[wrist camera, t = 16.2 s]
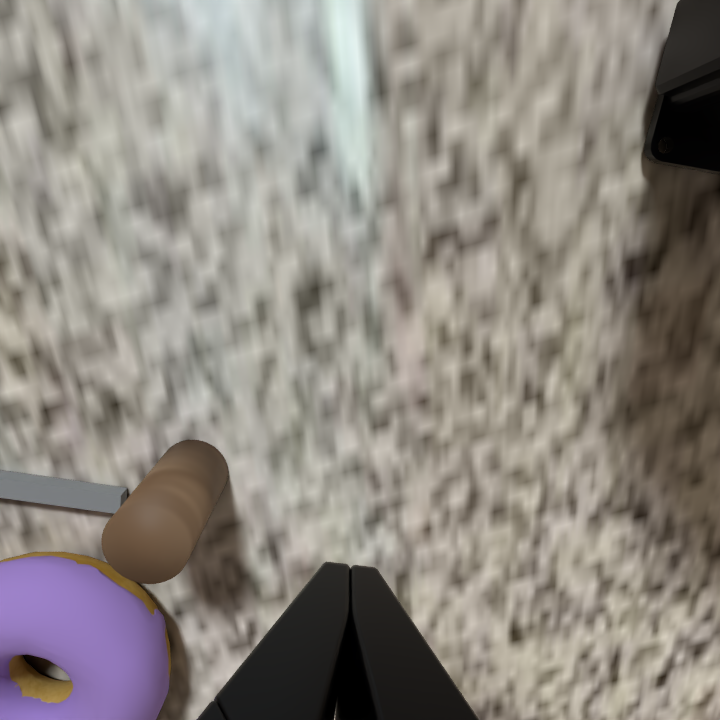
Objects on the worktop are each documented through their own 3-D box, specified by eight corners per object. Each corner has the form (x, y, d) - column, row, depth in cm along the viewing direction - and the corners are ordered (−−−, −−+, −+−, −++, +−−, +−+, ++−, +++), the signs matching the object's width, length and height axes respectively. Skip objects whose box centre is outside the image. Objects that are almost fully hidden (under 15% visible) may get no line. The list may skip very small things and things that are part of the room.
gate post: (231, 445, 21) (193, 513, 16) (224, 505, 21) (185, 589, 16) (163, 435, 20) (103, 500, 16) (158, 496, 21) (99, 577, 16)
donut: (25, 486, 21) (-40, 580, 16) (225, 586, 24) (218, 686, 20) (-105, 653, 22) (-195, 779, 18) (98, 724, 26) (65, 844, 21)
